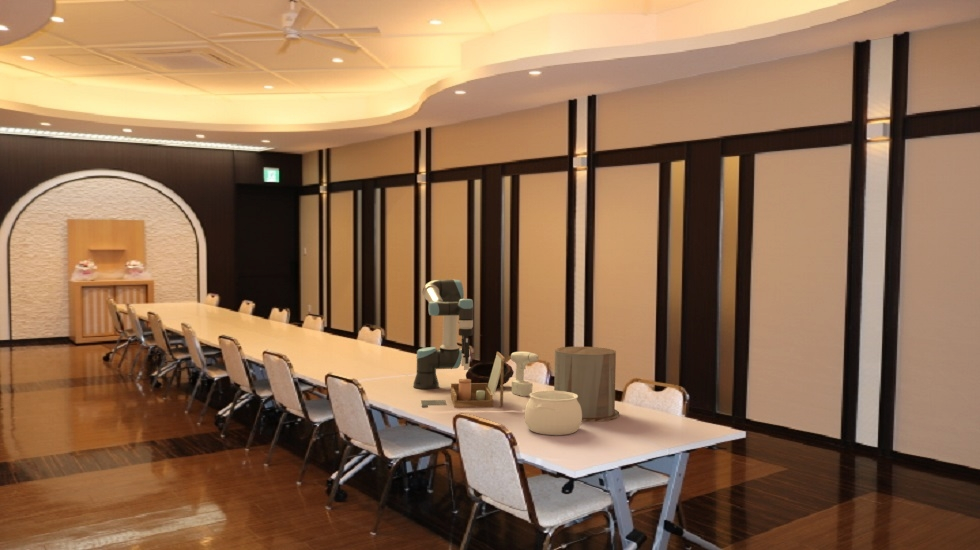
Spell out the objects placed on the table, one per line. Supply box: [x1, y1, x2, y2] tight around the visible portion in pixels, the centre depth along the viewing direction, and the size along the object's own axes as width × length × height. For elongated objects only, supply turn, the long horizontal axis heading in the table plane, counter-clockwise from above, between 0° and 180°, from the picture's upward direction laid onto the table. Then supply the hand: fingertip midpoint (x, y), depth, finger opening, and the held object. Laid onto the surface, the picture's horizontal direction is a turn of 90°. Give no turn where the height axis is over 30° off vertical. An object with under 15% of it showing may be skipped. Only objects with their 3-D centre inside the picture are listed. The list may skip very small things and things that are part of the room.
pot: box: [524, 390, 582, 436], centre depth 343 cm, size 29×26×16 cm
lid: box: [488, 351, 506, 395], centre depth 399 cm, size 23×20×1 cm
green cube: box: [476, 390, 485, 401], centre depth 398 cm, size 5×5×6 cm
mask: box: [465, 361, 514, 388], centre depth 448 cm, size 18×14×30 cm
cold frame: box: [450, 359, 505, 409], centre depth 396 cm, size 26×25×26 cm
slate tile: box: [420, 399, 448, 408], centre depth 395 cm, size 13×13×1 cm
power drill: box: [510, 351, 540, 397], centre depth 424 cm, size 8×24×25 cm, turn 31°
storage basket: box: [553, 346, 620, 423], centre depth 377 cm, size 35×35×32 cm
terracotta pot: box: [458, 378, 471, 401], centre depth 397 cm, size 7×7×12 cm
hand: (465, 367), depth 396 cm, fingers open, 13 cm apart
